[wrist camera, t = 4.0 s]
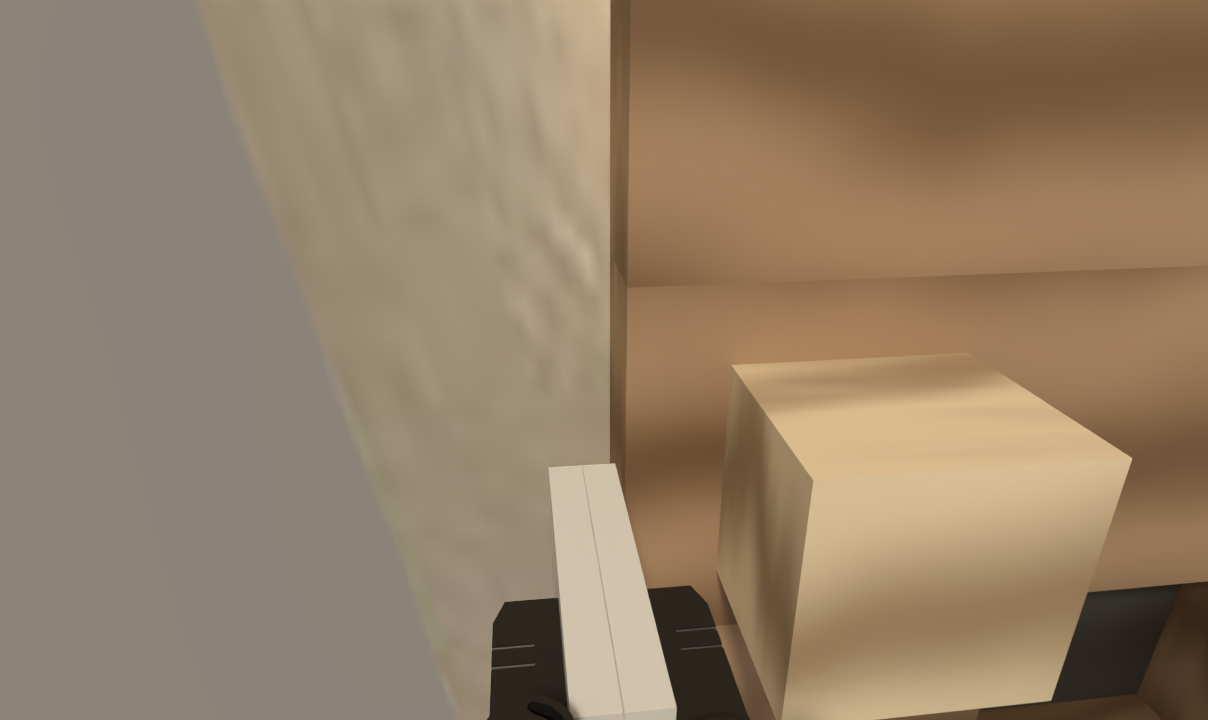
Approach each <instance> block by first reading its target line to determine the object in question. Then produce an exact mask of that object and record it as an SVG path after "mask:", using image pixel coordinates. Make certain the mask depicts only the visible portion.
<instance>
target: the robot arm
mask: <svg viewBox="0 0 1208 720" xmlns="http://www.w3.org/2000/svg"><path fill="white" fill-rule="evenodd" d="M549 495H550V524H551V553H552V573H553V586H554V598H550V599H538V600H525V601H513V602H505V603H504V605H503V607H502V608H501V610H500V612H499V614H498V615H497V617H496V619H495V621H494V623H493V638H492V671H491V695H490V716H489V718H488V719H487V720H750V718H749V716H748V714H747V712H746V709H745V706H744V703H743V701H742V698H741V695H740V692H739V689H738V687H737V684H736V681H735V678H734V675H733V673H732V670H731V667H730V664H729V661H728V659H727V656H726V653H725V650H724V648H723V647H722V642H721V639H720V636H719V633H718V631H717V630H716V625H715V622H714V619H713V617H712V614H711V611H710V608H709V605H708V603H707V602H706V601H705V600H704V599H703V598H702V597H701V596H700V595H699V594H698V593H697V592H696V591H695V590H694V589H693V588H692V586H691V585H688V586H676V587H664V588H651V589H647V588H646V584H645V580H644V576H643V572H642V568H641V564H640V560H639V556H638V552H637V548H636V544H635V540H634V536H633V532H632V528H631V524H630V520H629V516H628V512H627V508H626V504H625V501H624V497H623V493H622V489H621V485H620V481H619V477H618V473H617V469H616V465H615V463H613V464H597V465H580V466H564V467H549Z"/></svg>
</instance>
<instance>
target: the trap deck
mask: <svg viewBox="0 0 1208 720" xmlns="http://www.w3.org/2000/svg"><path fill="white" fill-rule="evenodd" d="M959 353H970V354H972V355H973V356H975V357H977V358H978V359H980V360H981V361H983V362H984V363H986V364H987V365H989V366H990V367H992V368H994V369H995V370H997V371H998V372H1000V373H1001V374H1003V375H1004V376H1006V377H1007V378H1009V379H1011V380H1012V381H1014V382H1015V383H1017V384H1018V385H1020V386H1021V387H1023V388H1025V389H1026V390H1028V391H1029V392H1031V393H1032V394H1034V395H1035V396H1037V397H1038V398H1040V399H1042V400H1043V401H1045V402H1046V403H1048V404H1049V405H1051V406H1052V407H1054V408H1055V409H1057V410H1059V411H1060V412H1062V413H1063V414H1065V415H1066V416H1068V417H1069V418H1071V419H1072V420H1074V421H1076V422H1077V423H1079V424H1080V425H1082V426H1083V427H1085V428H1086V429H1088V430H1090V431H1091V432H1093V433H1094V434H1096V435H1097V436H1099V437H1100V438H1102V439H1103V440H1105V441H1107V442H1108V443H1110V444H1111V445H1113V446H1114V447H1116V448H1117V449H1119V450H1120V451H1122V452H1124V453H1125V454H1127V455H1128V456H1130V457H1131V458H1132V461H1131V464H1130V467H1129V470H1128V473H1127V476H1126V479H1125V482H1124V485H1123V488H1122V491H1121V494H1120V497H1119V500H1118V503H1117V506H1116V509H1115V512H1114V515H1113V518H1112V521H1111V524H1110V527H1109V530H1108V533H1107V536H1106V539H1105V542H1104V545H1103V548H1102V551H1101V554H1100V557H1099V560H1098V563H1097V566H1096V568H1095V571H1094V574H1093V577H1092V580H1091V583H1090V586H1089V589H1088V592H1087V595H1086V598H1085V601H1084V604H1083V607H1082V610H1081V613H1080V616H1079V619H1078V622H1077V625H1076V628H1075V631H1074V634H1073V637H1072V640H1071V643H1070V646H1069V649H1068V652H1067V655H1066V658H1065V661H1064V664H1063V667H1062V670H1061V673H1060V676H1059V679H1058V682H1057V685H1056V688H1055V691H1054V694H1053V696H1052V699H1051V701H1045V702H1035V703H1026V704H1017V705H1008V706H998V707H989V708H980V709H971V710H962V711H952V712H943V713H934V714H925V715H915V716H906V717H897V718H888V719H878V720H1208V0H611V78H610V464H613V463H615V465H616V469H617V473H618V477H619V481H620V485H621V489H622V493H623V497H624V501H625V504H626V508H627V512H628V516H629V520H630V524H631V528H632V532H633V536H634V540H635V544H636V548H637V552H638V556H639V560H640V564H641V568H642V572H643V576H644V580H645V584H646V588H647V589H651V588H664V587H676V586H688V585H691V586H692V588H693V589H694V590H695V591H696V592H697V593H698V594H699V595H700V596H701V597H702V598H703V599H704V600H705V601H706V602H707V603H708V605H709V608H710V611H711V614H712V617H713V619H714V622H715V625H716V630H717V631H718V633H719V636H720V639H721V642H722V647H723V648H724V650H725V653H726V656H727V659H728V661H729V664H730V667H731V670H732V673H733V675H734V678H735V681H736V684H737V687H738V689H739V692H740V695H741V698H742V701H743V703H744V706H745V709H746V712H747V714H748V716H749V718H750V720H776V718H775V716H774V713H773V711H772V708H771V706H770V703H769V701H768V698H767V696H766V693H765V691H764V688H763V686H762V683H761V681H760V678H759V676H758V673H757V671H756V668H755V666H754V663H753V661H752V658H751V656H750V653H749V651H748V648H747V646H746V643H745V641H744V638H743V636H742V633H741V630H740V628H739V625H738V623H737V620H736V618H735V615H734V613H733V610H732V608H731V605H730V603H729V600H728V598H727V595H726V593H725V590H724V588H723V585H722V583H721V580H720V578H719V575H718V573H717V570H716V564H717V551H718V537H719V524H720V510H721V497H722V483H723V470H724V456H725V443H726V429H727V416H728V402H729V389H730V376H731V365H742V364H762V363H782V362H801V361H821V360H841V359H861V358H880V357H900V356H920V355H939V354H959Z"/></svg>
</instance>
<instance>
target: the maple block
mask: <svg viewBox="0 0 1208 720" xmlns="http://www.w3.org/2000/svg"><path fill="white" fill-rule="evenodd" d="M1131 461H1132V458H1131V457H1130V456H1128V455H1127V454H1125V453H1124V452H1122V451H1120V450H1119V449H1117V448H1116V447H1114V446H1113V445H1111V444H1110V443H1108V442H1107V441H1105V440H1103V439H1102V438H1100V437H1099V436H1097V435H1096V434H1094V433H1093V432H1091V431H1090V430H1088V429H1086V428H1085V427H1083V426H1082V425H1080V424H1079V423H1077V422H1076V421H1074V420H1072V419H1071V418H1069V417H1068V416H1066V415H1065V414H1063V413H1062V412H1060V411H1059V410H1057V409H1055V408H1054V407H1052V406H1051V405H1049V404H1048V403H1046V402H1045V401H1043V400H1042V399H1040V398H1038V397H1037V396H1035V395H1034V394H1032V393H1031V392H1029V391H1028V390H1026V389H1025V388H1023V387H1021V386H1020V385H1018V384H1017V383H1015V382H1014V381H1012V380H1011V379H1009V378H1007V377H1006V376H1004V375H1003V374H1001V373H1000V372H998V371H997V370H995V369H994V368H992V367H990V366H989V365H987V364H986V363H984V362H983V361H981V360H980V359H978V358H977V357H975V356H973V355H972V354H970V353H959V354H939V355H920V356H900V357H880V358H861V359H841V360H821V361H801V362H782V363H762V364H742V365H731V376H730V389H729V402H728V416H727V429H726V443H725V456H724V470H723V483H722V497H721V510H720V524H719V537H718V551H717V564H716V570H717V573H718V575H719V578H720V580H721V583H722V585H723V588H724V590H725V593H726V595H727V598H728V600H729V603H730V605H731V608H732V610H733V613H734V615H735V618H736V620H737V623H738V625H739V628H740V630H741V633H742V636H743V638H744V641H745V643H746V646H747V648H748V651H749V653H750V656H751V658H752V661H753V663H754V666H755V668H756V671H757V673H758V676H759V678H760V681H761V683H762V686H763V688H764V691H765V693H766V696H767V698H768V701H769V703H770V706H771V708H772V711H773V713H774V716H775V718H776V720H878V719H888V718H897V717H906V716H915V715H925V714H934V713H943V712H952V711H962V710H971V709H980V708H989V707H998V706H1008V705H1017V704H1026V703H1035V702H1045V701H1051V699H1052V696H1053V694H1054V691H1055V688H1056V685H1057V682H1058V679H1059V676H1060V673H1061V670H1062V667H1063V664H1064V661H1065V658H1066V655H1067V652H1068V649H1069V646H1070V643H1071V640H1072V637H1073V634H1074V631H1075V628H1076V625H1077V622H1078V619H1079V616H1080V613H1081V610H1082V607H1083V604H1084V601H1085V598H1086V595H1087V592H1088V589H1089V586H1090V583H1091V580H1092V577H1093V574H1094V571H1095V568H1096V566H1097V563H1098V560H1099V557H1100V554H1101V551H1102V548H1103V545H1104V542H1105V539H1106V536H1107V533H1108V530H1109V527H1110V524H1111V521H1112V518H1113V515H1114V512H1115V509H1116V506H1117V503H1118V500H1119V497H1120V494H1121V491H1122V488H1123V485H1124V482H1125V479H1126V476H1127V473H1128V470H1129V467H1130V464H1131Z"/></svg>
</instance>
